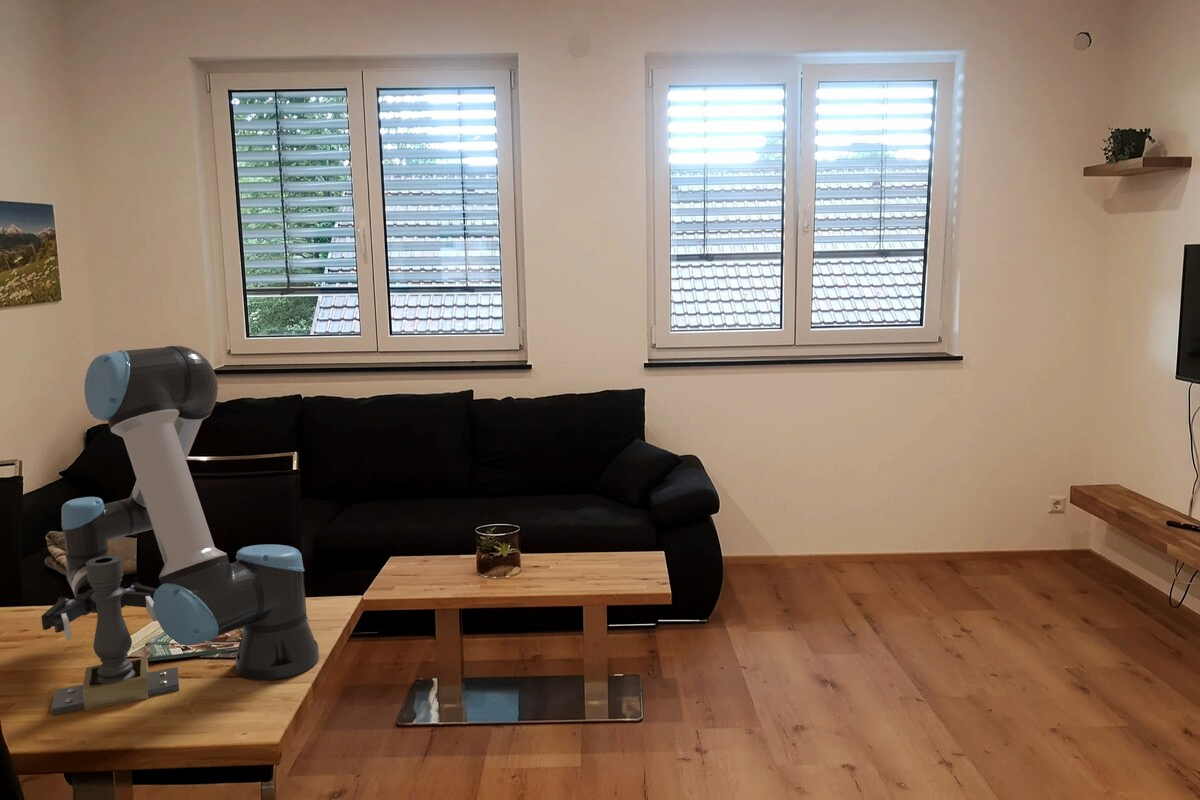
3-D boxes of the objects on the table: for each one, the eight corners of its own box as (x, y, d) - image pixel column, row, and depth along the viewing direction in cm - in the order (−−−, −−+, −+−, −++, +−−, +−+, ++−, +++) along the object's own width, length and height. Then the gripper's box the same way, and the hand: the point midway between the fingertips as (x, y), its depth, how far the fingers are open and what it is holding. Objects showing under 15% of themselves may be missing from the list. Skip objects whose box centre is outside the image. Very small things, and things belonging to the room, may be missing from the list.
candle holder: (126, 700, 164) (111, 566, 160) (91, 701, 164) (76, 566, 160) (143, 684, 170) (130, 554, 166) (110, 685, 170) (96, 555, 167)
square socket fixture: (178, 670, 176) (176, 650, 175) (179, 692, 167) (177, 671, 166) (57, 693, 168) (54, 673, 167) (51, 717, 159) (49, 696, 158)
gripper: (167, 592, 187) (190, 625, 170) (23, 622, 173) (32, 661, 156) (163, 557, 186) (186, 586, 169) (18, 584, 172) (27, 619, 155)
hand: (112, 622), depth 162 cm, fingers open, 13 cm apart
